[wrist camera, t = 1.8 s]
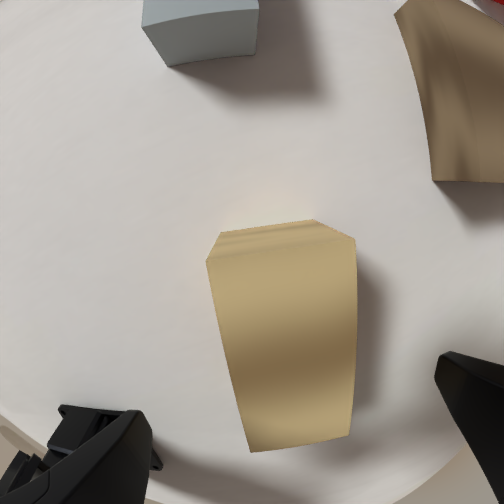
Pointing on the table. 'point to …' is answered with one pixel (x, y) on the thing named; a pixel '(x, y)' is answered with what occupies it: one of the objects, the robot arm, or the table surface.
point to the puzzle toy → (499, 1)
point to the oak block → (288, 329)
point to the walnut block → (458, 86)
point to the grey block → (201, 28)
